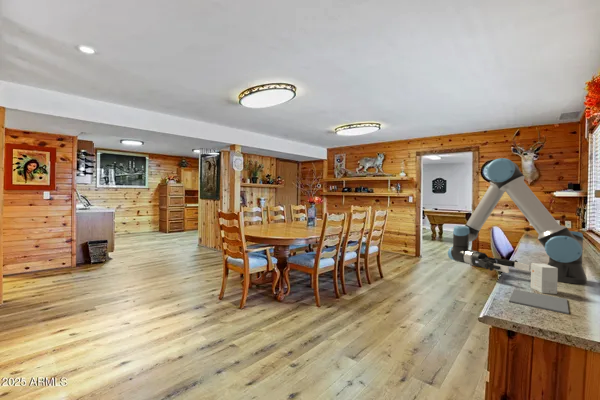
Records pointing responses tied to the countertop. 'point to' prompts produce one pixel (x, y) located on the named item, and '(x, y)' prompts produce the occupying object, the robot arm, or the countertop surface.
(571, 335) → the countertop surface
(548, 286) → the small box
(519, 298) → the slate mat
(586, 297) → the countertop surface
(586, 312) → the countertop surface
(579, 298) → the countertop surface
